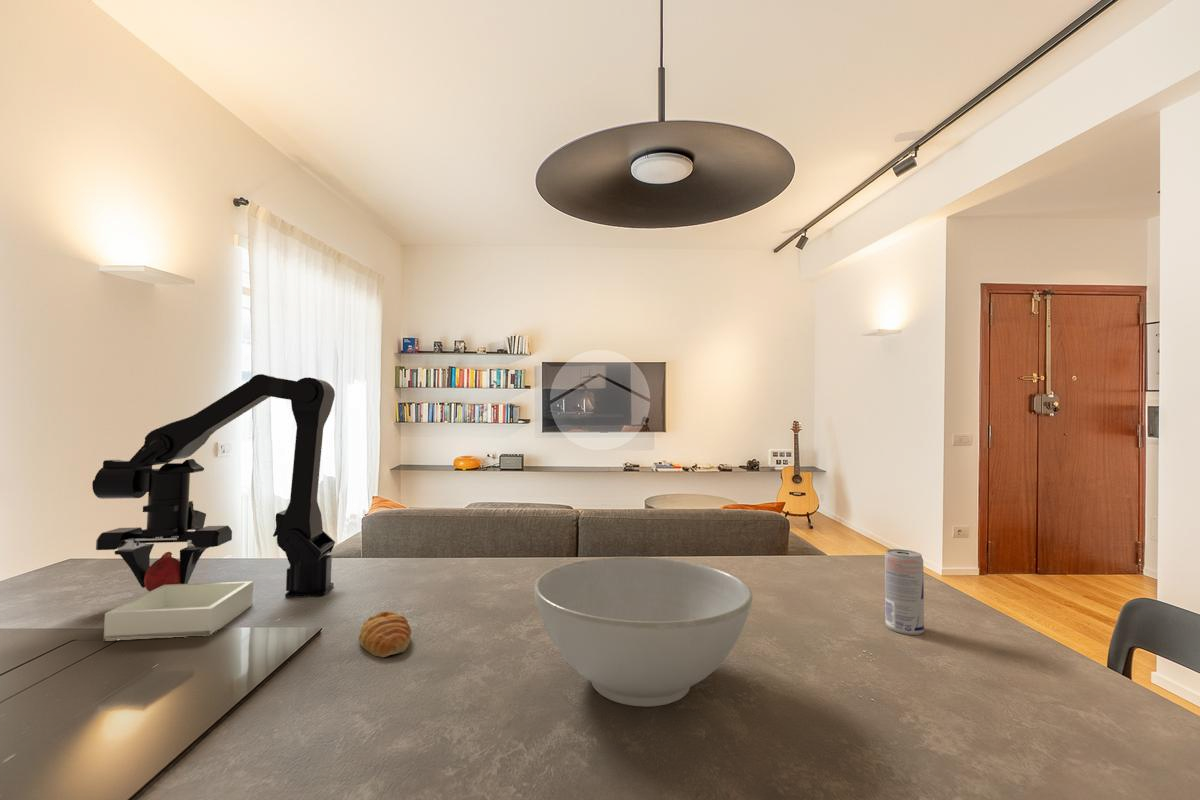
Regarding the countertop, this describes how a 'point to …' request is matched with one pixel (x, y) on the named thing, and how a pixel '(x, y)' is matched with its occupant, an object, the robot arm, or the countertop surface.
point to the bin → (180, 610)
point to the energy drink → (904, 591)
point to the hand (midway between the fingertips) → (164, 586)
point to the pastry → (385, 634)
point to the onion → (162, 572)
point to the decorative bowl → (642, 623)
